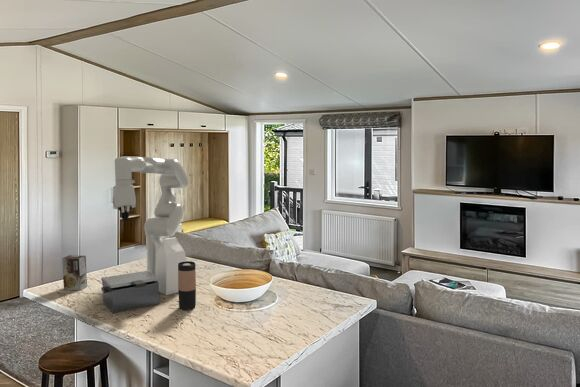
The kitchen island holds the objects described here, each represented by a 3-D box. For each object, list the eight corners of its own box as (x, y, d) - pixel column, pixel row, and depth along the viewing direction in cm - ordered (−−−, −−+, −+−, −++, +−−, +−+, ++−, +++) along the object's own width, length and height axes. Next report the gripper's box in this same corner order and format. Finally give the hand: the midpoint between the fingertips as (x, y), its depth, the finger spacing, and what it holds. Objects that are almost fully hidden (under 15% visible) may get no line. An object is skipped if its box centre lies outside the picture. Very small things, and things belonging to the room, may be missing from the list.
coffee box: (87, 286, 227) (86, 255, 225) (80, 290, 220) (79, 258, 219) (70, 285, 228) (69, 254, 226) (63, 289, 221) (61, 257, 219)
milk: (175, 284, 232) (175, 234, 229) (187, 289, 224) (187, 238, 221) (154, 289, 223) (153, 238, 221) (166, 294, 215) (165, 241, 212)
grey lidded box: (150, 292, 219) (150, 272, 218) (163, 303, 204) (162, 281, 203) (98, 301, 205) (97, 280, 204) (108, 314, 190) (107, 291, 189)
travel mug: (180, 304, 203) (179, 261, 200) (197, 304, 203) (196, 261, 201) (177, 310, 195) (176, 265, 193) (195, 310, 196) (194, 265, 193)
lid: (147, 273, 216) (147, 270, 216) (165, 282, 196) (165, 279, 196) (101, 280, 204) (101, 277, 204) (115, 291, 184) (115, 287, 184)
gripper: (136, 181, 225) (138, 217, 227) (105, 183, 216) (107, 220, 218) (141, 182, 219) (142, 219, 221) (109, 184, 210) (111, 222, 212)
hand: (125, 219), depth 220 cm, fingers closed
